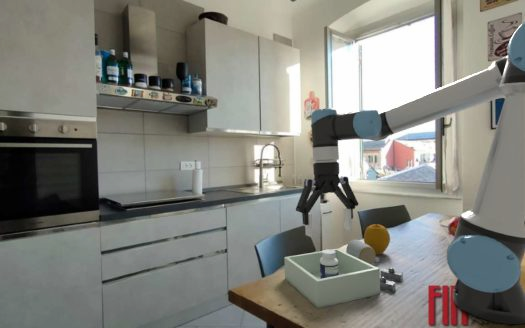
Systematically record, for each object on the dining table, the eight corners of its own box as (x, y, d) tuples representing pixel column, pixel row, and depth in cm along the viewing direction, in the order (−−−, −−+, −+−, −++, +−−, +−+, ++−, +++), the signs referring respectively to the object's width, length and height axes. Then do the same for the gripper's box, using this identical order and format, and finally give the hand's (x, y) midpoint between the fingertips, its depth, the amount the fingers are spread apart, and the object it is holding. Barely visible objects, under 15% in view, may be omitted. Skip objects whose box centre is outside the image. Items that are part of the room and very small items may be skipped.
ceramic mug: (360, 268, 98) (359, 246, 98) (345, 260, 106) (345, 240, 106) (385, 264, 102) (384, 243, 102) (369, 257, 110) (369, 237, 109)
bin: (380, 293, 80) (379, 268, 80) (318, 308, 73) (317, 281, 73) (337, 268, 99) (337, 248, 99) (285, 278, 92) (284, 257, 92)
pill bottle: (320, 279, 89) (319, 248, 89) (338, 280, 88) (336, 248, 88) (321, 287, 84) (319, 254, 84) (340, 288, 83) (338, 254, 83)
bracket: (383, 274, 93) (382, 264, 93) (403, 279, 89) (402, 268, 89) (371, 286, 85) (371, 275, 84) (393, 292, 81) (392, 280, 81)
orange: (392, 258, 107) (391, 227, 107) (365, 257, 110) (364, 226, 109) (388, 250, 116) (387, 221, 116) (363, 249, 119) (362, 220, 119)
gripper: (352, 160, 93) (355, 225, 93) (282, 163, 85) (285, 235, 85) (368, 159, 86) (371, 230, 86) (294, 163, 78) (297, 241, 78)
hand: (329, 232), depth 85 cm, fingers open, 13 cm apart
